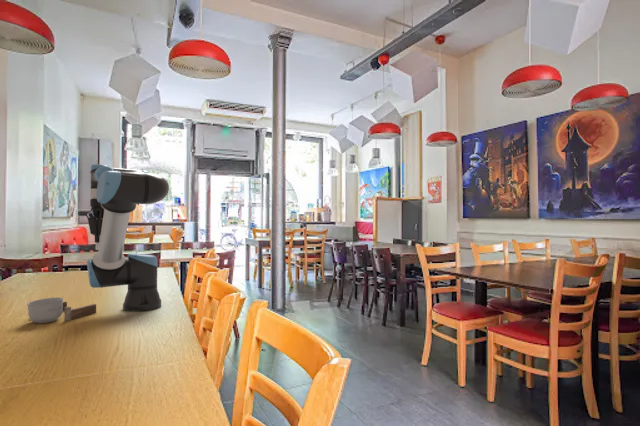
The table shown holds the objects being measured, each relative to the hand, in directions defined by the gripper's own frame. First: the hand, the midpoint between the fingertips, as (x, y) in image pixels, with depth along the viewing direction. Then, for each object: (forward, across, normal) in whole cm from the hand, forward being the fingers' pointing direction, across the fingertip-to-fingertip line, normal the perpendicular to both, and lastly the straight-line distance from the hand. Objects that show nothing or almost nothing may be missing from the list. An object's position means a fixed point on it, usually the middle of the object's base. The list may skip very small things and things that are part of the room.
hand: (99, 249), depth 172 cm
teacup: (+25, +29, +6) cm, 38 cm away
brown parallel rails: (+24, +21, +6) cm, 33 cm away
